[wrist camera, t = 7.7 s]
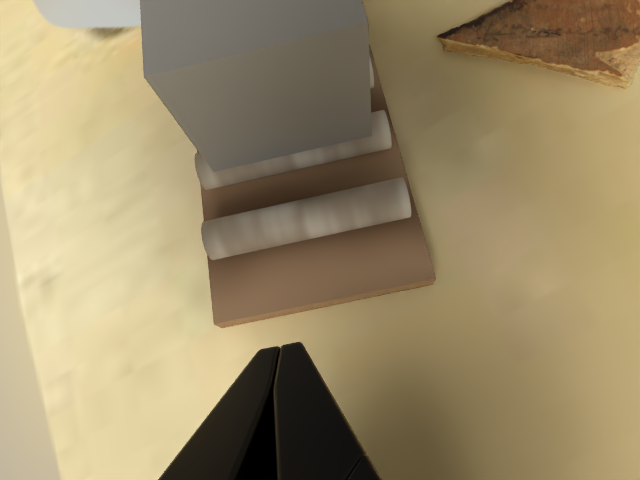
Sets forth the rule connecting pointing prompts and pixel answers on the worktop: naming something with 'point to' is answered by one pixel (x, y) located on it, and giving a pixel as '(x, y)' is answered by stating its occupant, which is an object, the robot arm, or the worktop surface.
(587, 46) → the shard
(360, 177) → the roller bed
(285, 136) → the gray rectangular block
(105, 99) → the worktop surface
